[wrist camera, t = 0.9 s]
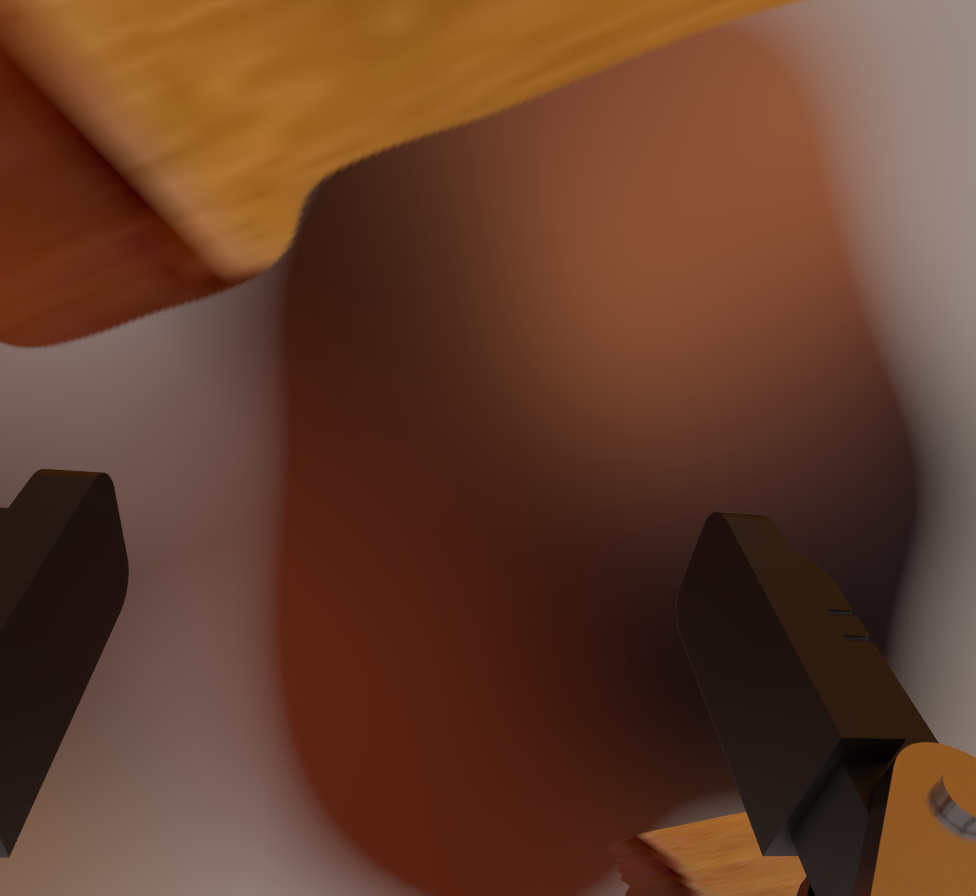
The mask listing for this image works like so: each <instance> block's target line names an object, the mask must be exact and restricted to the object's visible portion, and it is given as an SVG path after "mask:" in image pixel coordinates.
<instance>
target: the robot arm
mask: <svg viewBox="0 0 976 896" xmlns="http://www.w3.org/2000/svg"><path fill="white" fill-rule="evenodd" d="M128 577H129V565H128V557H127V552H126V547H125V542H124V537H123V532H122V526H121V521H120V515H119V510H118V504H117V500H116V494H115V489H114V484H113V482H112V479H111V477H110V476H109V475H108V474H107V473H101V472H84V471H68V470H51V469H41V470H38V471H37V472H36V473H34V474H33V476H32V477H31V478H30V479H29V481H28V482H27V483H26V485H25V486H24V488H23V489H22V490H21V492H20V493H19V494H18V496H17V497H16V498H15V500H14V501H13V503H12V504H11V505H10V506H9V508H0V857H10V854H11V852H12V850H13V848H14V845H15V843H16V841H17V838H18V837H19V835H20V832H21V830H22V828H23V825H24V823H25V821H26V819H27V817H28V815H29V812H30V810H31V808H32V806H33V804H34V801H35V799H36V797H37V795H38V793H39V790H40V788H41V786H42V784H43V782H44V779H45V777H46V775H47V773H48V771H49V768H50V766H51V764H52V762H53V760H54V757H55V755H56V753H57V751H58V749H59V746H60V744H61V742H62V740H63V738H64V735H65V733H66V731H67V729H68V727H69V724H70V722H71V720H72V718H73V716H74V713H75V711H76V709H77V706H78V705H79V702H80V700H81V698H82V696H83V694H84V691H85V689H86V687H87V685H88V682H89V680H90V678H91V676H92V674H93V672H94V669H95V667H96V665H97V663H98V660H99V658H100V656H101V654H102V652H103V650H104V647H105V645H106V643H107V641H108V639H109V636H110V634H111V632H112V630H113V628H114V625H115V623H116V621H117V619H118V616H119V614H120V612H121V610H122V607H123V604H124V601H125V597H126V593H127V587H128ZM852 611H853V610H852V608H851V607H850V605H849V604H848V602H847V601H846V599H845V598H844V597H843V595H842V593H841V591H840V590H839V588H838V587H837V585H836V584H835V582H834V581H833V579H832V578H830V577H829V576H828V575H827V574H826V573H825V572H824V571H822V570H821V569H820V568H819V567H818V566H817V565H816V564H815V563H813V562H812V561H811V560H810V559H809V558H808V557H806V556H805V555H804V554H803V553H794V552H792V550H791V548H790V547H789V545H788V543H787V542H786V540H785V538H784V537H783V535H782V533H781V532H780V530H779V529H778V527H777V525H776V524H775V522H774V521H773V520H772V519H771V518H770V517H769V516H767V515H759V514H743V513H727V512H713V513H712V514H710V515H709V516H708V518H707V519H706V521H705V523H704V525H703V528H702V530H701V533H700V535H699V538H698V541H697V544H696V546H695V548H694V551H693V553H692V556H691V559H690V561H689V564H688V566H687V569H686V571H685V574H684V577H683V580H682V582H681V584H680V587H679V590H678V594H677V602H676V618H677V625H678V629H679V633H680V636H681V638H682V640H683V644H684V646H685V649H686V652H687V654H688V657H689V660H690V662H691V665H692V668H693V670H694V673H695V676H696V678H697V681H698V684H699V687H700V689H701V692H702V694H703V697H704V700H705V703H706V705H707V708H708V710H709V713H710V716H711V719H712V721H713V724H714V727H715V729H716V732H717V735H718V737H719V740H720V742H721V745H722V748H723V751H724V753H725V756H726V759H727V761H728V764H729V767H730V770H731V772H732V775H733V778H734V780H735V783H736V786H737V788H738V791H739V794H740V796H741V799H742V801H743V804H744V807H745V810H746V812H747V815H748V818H749V820H750V823H751V826H752V829H753V831H754V834H755V837H756V839H757V842H758V845H759V847H760V850H761V853H762V855H763V856H799V858H800V861H801V863H802V866H803V868H804V871H805V873H806V875H807V876H806V877H805V879H804V880H803V882H802V883H801V884H800V887H799V889H798V892H797V895H796V896H976V758H975V757H973V756H971V755H969V754H967V753H965V752H963V751H961V750H959V749H956V748H953V747H950V746H947V745H943V744H939V743H938V741H937V740H936V738H935V737H934V735H933V734H932V732H931V731H930V729H929V727H928V726H927V724H926V723H925V721H924V720H923V719H922V717H921V715H920V713H919V712H918V710H917V709H916V707H915V706H914V704H913V703H912V701H911V700H910V698H909V696H908V695H907V693H906V692H905V690H904V689H903V687H902V686H901V684H900V683H899V681H898V680H897V678H896V676H895V675H894V673H893V672H892V670H891V669H890V667H889V666H888V664H887V662H886V661H885V659H884V658H883V656H882V655H881V653H880V652H879V650H878V649H877V647H876V645H875V644H874V643H873V642H869V635H868V633H867V632H866V630H865V628H864V627H863V625H862V624H861V622H860V621H859V619H858V618H857V617H855V616H853V615H852Z"/></svg>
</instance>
